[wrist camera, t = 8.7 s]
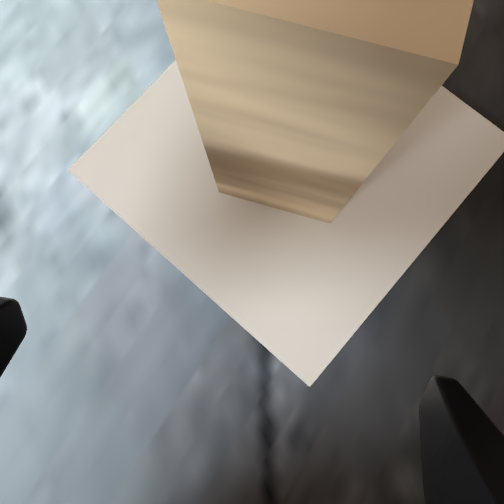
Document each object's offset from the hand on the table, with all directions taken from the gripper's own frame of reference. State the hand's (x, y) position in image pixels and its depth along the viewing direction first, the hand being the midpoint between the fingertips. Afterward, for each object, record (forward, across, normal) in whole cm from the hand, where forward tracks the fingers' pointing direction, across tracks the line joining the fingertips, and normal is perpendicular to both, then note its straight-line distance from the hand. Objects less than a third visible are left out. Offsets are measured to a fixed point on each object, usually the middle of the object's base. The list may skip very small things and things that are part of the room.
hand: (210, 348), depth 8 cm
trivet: (+12, 0, 0) cm, 12 cm away
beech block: (+11, 0, -1) cm, 11 cm away
